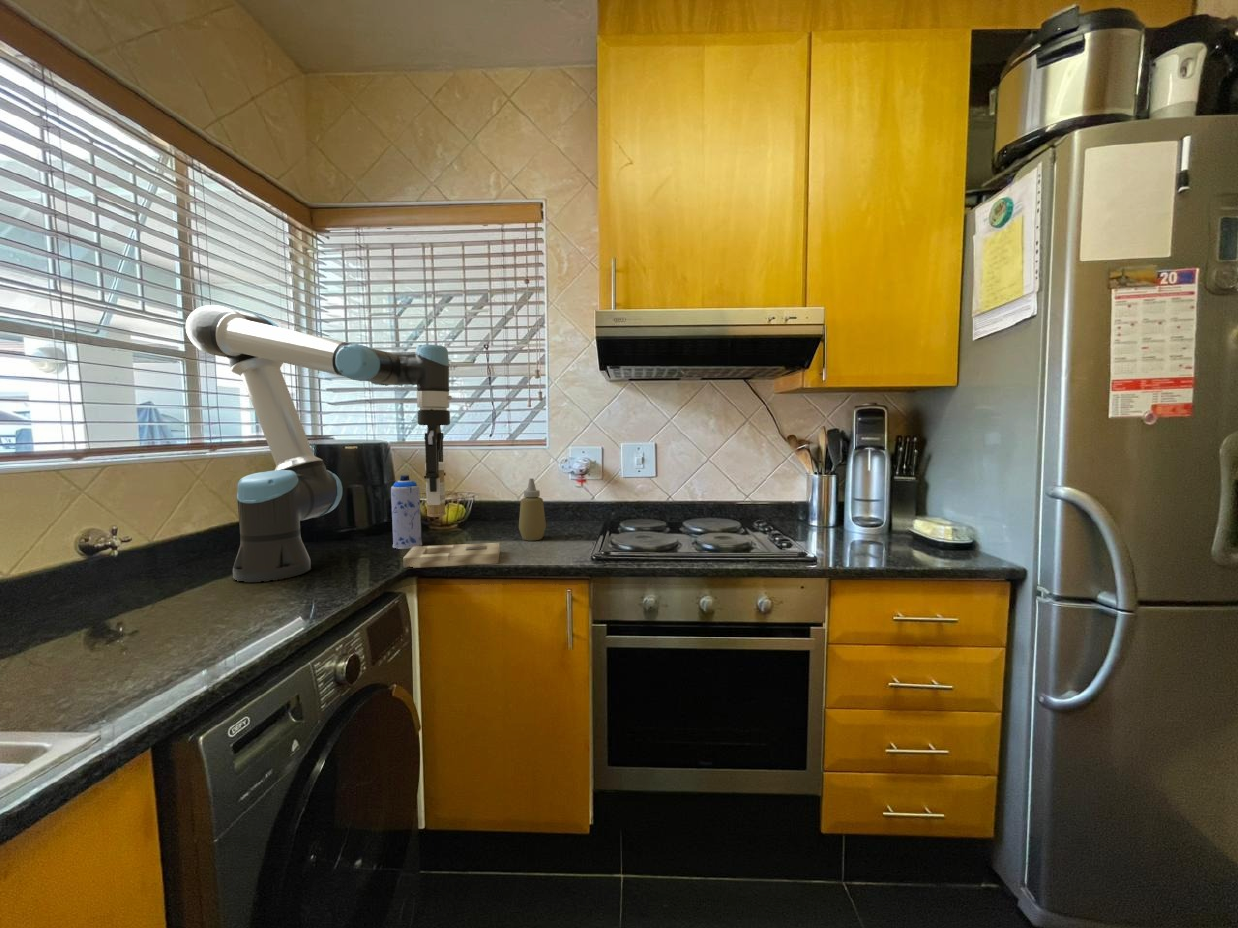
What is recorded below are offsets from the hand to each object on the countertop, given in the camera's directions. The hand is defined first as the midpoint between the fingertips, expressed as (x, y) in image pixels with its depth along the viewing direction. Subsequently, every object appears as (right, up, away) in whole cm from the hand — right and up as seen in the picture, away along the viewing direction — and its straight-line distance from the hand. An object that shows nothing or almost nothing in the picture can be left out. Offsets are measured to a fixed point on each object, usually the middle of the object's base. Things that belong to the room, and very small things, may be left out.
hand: (435, 503), depth 133 cm
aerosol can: (-14, -14, +18) cm, 26 cm away
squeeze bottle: (+20, -13, +25) cm, 35 cm away
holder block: (+4, -14, +2) cm, 15 cm away
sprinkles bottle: (0, -3, 0) cm, 3 cm away
